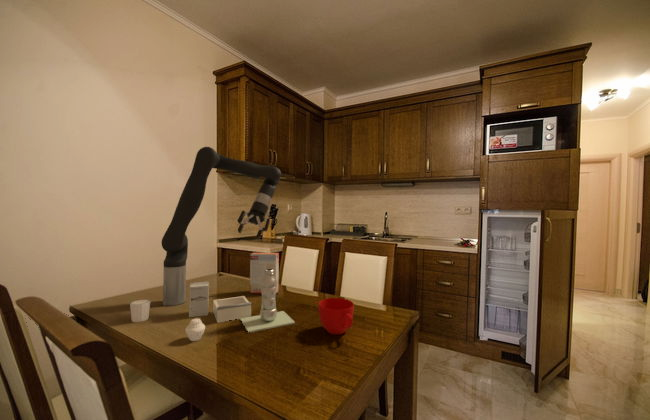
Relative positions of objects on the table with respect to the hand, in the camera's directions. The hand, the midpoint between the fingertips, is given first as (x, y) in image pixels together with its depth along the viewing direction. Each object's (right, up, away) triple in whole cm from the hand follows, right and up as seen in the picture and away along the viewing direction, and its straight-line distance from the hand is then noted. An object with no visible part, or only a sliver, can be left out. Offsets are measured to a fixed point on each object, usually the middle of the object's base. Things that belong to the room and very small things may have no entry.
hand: (248, 235), depth 127 cm
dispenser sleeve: (-4, -32, -11) cm, 34 cm away
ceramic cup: (+40, -33, -27) cm, 58 cm away
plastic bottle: (+13, -32, -18) cm, 39 cm away
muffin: (-9, -32, -33) cm, 47 cm away
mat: (+12, -32, -18) cm, 39 cm away
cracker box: (+3, -32, +20) cm, 38 cm away
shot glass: (-38, -32, -17) cm, 53 cm away
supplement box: (-18, -32, -10) cm, 38 cm away
